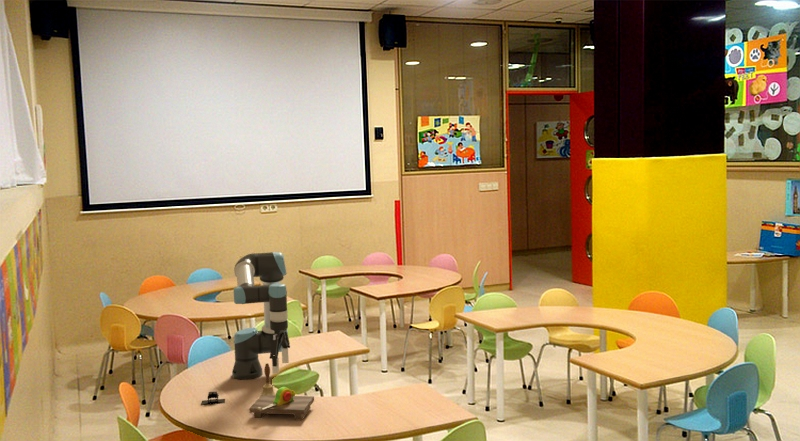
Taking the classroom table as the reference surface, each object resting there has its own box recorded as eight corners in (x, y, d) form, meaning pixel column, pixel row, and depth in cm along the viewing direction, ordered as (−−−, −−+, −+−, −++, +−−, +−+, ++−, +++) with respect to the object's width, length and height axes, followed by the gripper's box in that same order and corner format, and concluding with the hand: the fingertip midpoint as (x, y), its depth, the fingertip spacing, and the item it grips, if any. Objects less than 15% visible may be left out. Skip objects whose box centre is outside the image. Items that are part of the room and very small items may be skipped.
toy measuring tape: (299, 400, 312) (299, 385, 311) (262, 412, 298) (262, 397, 297) (290, 396, 316) (290, 382, 316) (253, 409, 302) (253, 394, 302)
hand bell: (280, 394, 334) (279, 361, 332) (271, 401, 326) (270, 367, 324) (264, 393, 336) (263, 360, 334) (255, 399, 328) (254, 365, 327)
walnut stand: (262, 405, 320) (261, 394, 319) (314, 407, 317) (313, 396, 316) (249, 419, 304) (249, 408, 304) (304, 421, 301) (304, 409, 300)
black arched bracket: (197, 407, 321) (197, 396, 321) (199, 401, 329) (198, 391, 328) (227, 404, 324) (227, 394, 323) (228, 398, 331) (227, 388, 331)
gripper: (279, 312, 319) (281, 358, 321) (260, 327, 294) (262, 377, 297) (295, 312, 318) (297, 359, 320) (278, 328, 293) (280, 377, 296)
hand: (280, 367), depth 308 cm, fingers open, 13 cm apart
